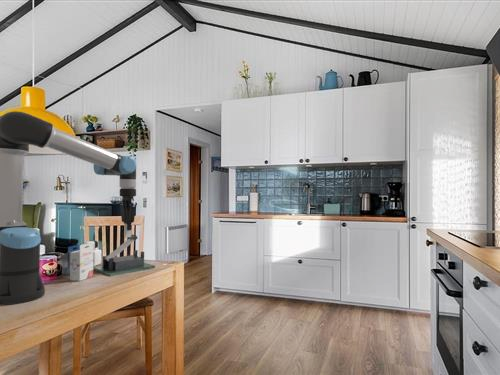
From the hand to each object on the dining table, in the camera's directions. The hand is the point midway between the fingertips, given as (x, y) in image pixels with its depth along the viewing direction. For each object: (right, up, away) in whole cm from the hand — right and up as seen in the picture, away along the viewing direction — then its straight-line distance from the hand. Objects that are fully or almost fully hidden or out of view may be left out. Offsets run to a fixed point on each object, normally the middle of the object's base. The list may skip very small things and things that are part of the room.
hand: (127, 236), depth 157 cm
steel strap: (-2, -6, -2) cm, 6 cm away
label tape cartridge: (-23, -15, -9) cm, 29 cm away
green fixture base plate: (-1, -15, -2) cm, 15 cm away
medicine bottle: (-21, -15, +7) cm, 27 cm away
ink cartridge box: (-12, -15, -20) cm, 27 cm away
